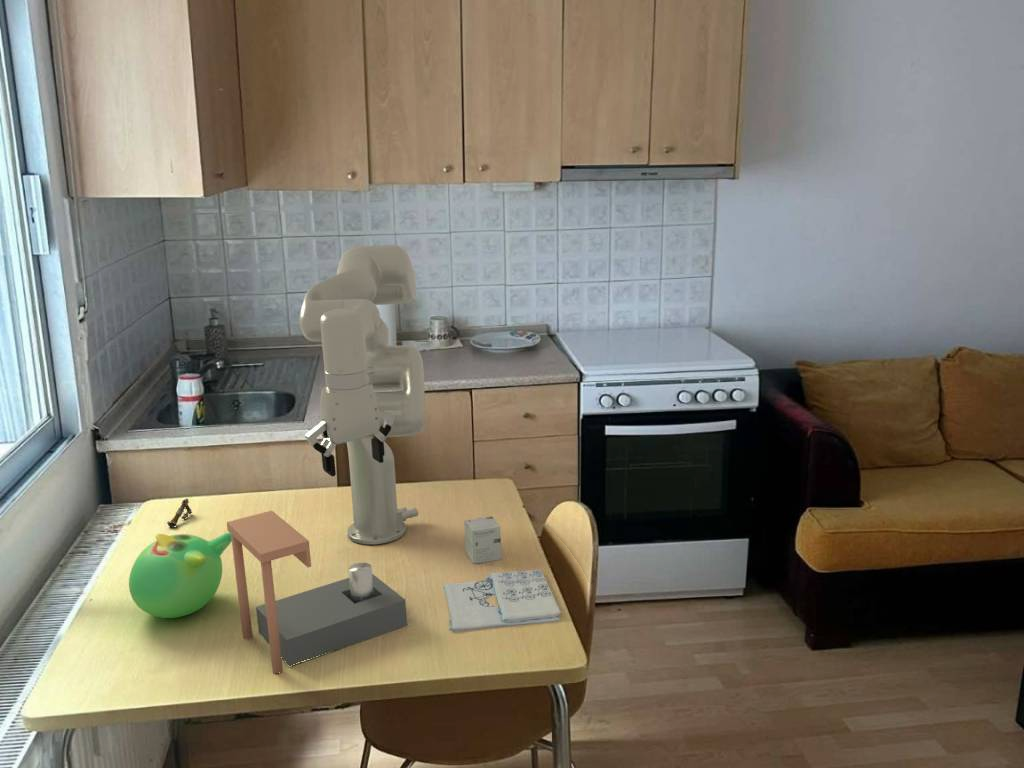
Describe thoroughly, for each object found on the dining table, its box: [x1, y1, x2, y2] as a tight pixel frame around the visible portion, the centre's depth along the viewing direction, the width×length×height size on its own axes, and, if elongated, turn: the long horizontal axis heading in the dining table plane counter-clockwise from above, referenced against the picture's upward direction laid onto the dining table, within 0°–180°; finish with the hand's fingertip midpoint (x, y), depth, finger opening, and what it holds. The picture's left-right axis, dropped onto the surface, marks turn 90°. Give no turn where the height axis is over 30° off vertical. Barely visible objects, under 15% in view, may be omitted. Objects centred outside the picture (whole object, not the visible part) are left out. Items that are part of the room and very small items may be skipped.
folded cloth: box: [442, 569, 562, 633], centre depth 175 cm, size 19×20×2 cm
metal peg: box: [348, 562, 374, 604], centre depth 170 cm, size 4×4×10 cm
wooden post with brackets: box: [166, 498, 193, 528], centre depth 216 cm, size 2×8×4 cm, turn 167°
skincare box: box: [464, 516, 502, 565], centre depth 193 cm, size 6×6×7 cm
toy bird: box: [128, 531, 232, 619], centre depth 174 cm, size 18×17×15 cm
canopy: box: [226, 510, 312, 674], centre depth 159 cm, size 8×16×22 cm, turn 35°
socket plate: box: [255, 573, 408, 667], centre depth 167 cm, size 22×14×5 cm, turn 125°
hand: (354, 467), depth 174 cm, fingers open, 9 cm apart
